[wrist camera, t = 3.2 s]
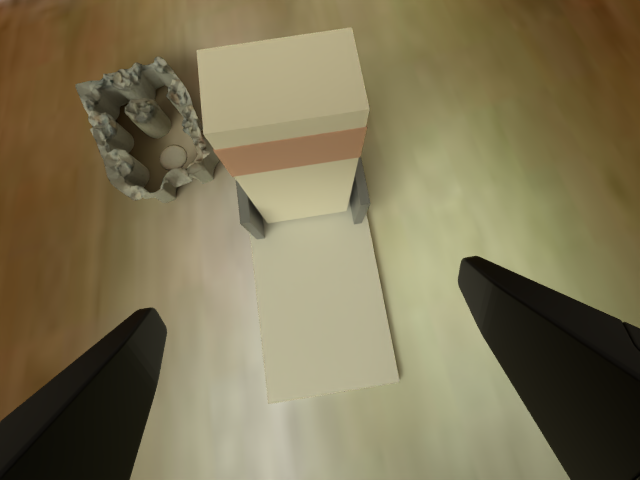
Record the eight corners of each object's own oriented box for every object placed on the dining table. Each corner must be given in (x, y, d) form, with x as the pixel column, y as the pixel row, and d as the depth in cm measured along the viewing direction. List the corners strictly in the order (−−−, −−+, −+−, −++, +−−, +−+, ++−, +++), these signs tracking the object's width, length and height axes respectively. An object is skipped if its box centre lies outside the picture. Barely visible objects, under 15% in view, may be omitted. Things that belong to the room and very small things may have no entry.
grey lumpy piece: (231, 178, 24) (213, 153, 20) (144, 217, 24) (108, 200, 20) (185, 77, 26) (160, 36, 22) (104, 110, 26) (64, 75, 22)
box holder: (398, 380, 21) (420, 404, 16) (269, 402, 21) (252, 432, 16) (354, 157, 24) (361, 121, 19) (244, 174, 24) (224, 142, 19)
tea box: (347, 211, 22) (371, 110, 11) (267, 224, 22) (202, 135, 11) (339, 166, 23) (352, 26, 11) (261, 178, 23) (195, 49, 11)
